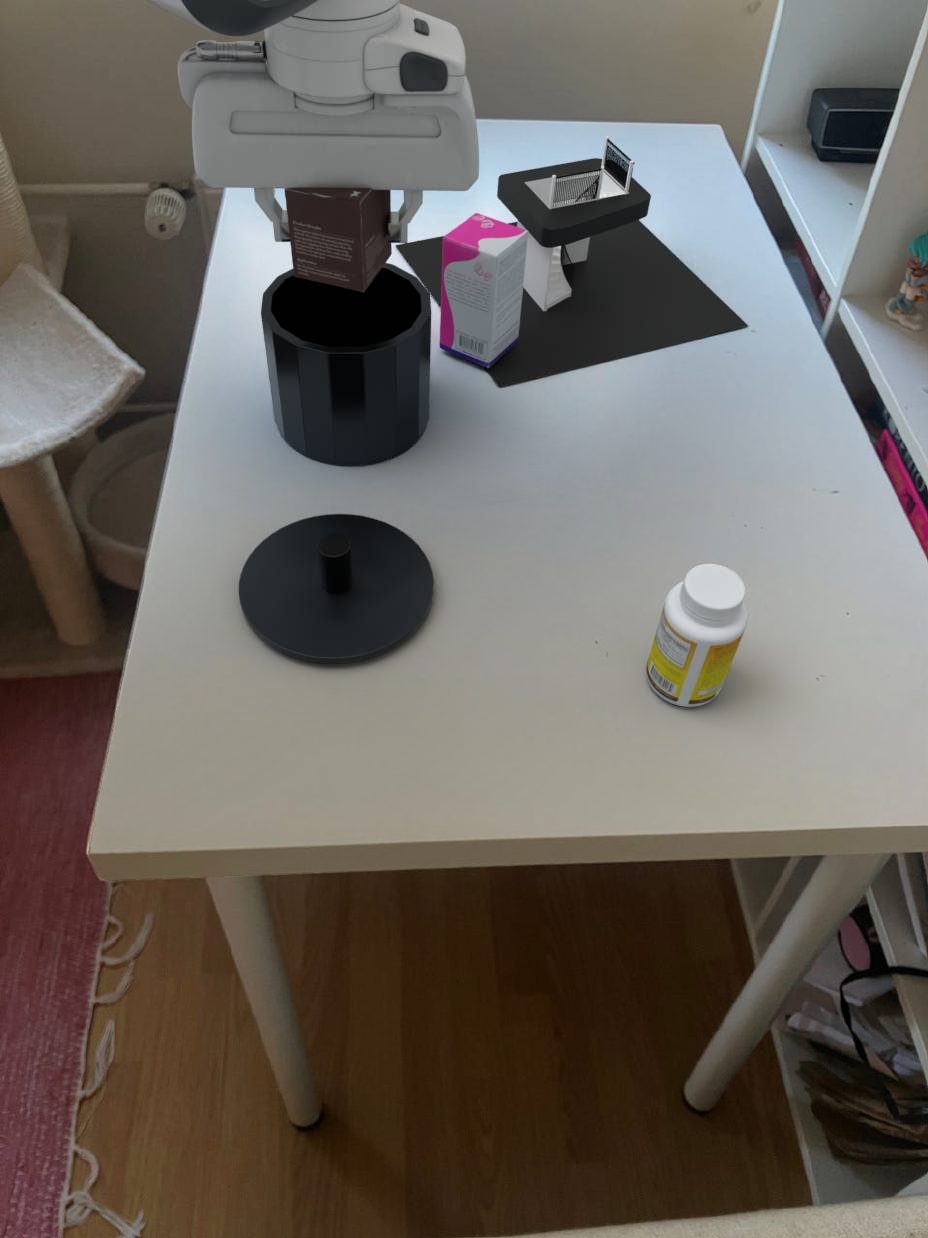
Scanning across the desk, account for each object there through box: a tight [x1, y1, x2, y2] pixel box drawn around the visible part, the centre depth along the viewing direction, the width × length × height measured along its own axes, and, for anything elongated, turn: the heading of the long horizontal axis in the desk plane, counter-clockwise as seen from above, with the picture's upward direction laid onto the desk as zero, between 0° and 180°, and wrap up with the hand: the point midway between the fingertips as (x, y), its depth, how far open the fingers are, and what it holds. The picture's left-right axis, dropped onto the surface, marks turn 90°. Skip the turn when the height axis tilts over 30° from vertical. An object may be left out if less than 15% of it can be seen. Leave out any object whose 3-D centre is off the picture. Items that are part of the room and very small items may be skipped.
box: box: [283, 188, 393, 292], centre depth 76 cm, size 6×6×7 cm
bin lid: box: [238, 513, 435, 664], centre depth 75 cm, size 15×15×5 cm
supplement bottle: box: [645, 563, 749, 708], centre depth 69 cm, size 6×6×10 cm
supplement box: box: [438, 212, 528, 369], centre depth 92 cm, size 6×6×12 cm
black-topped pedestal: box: [394, 135, 749, 388], centre depth 100 cm, size 28×26×13 cm
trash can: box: [260, 262, 432, 467], centre depth 86 cm, size 14×14×12 cm
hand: (342, 238), depth 77 cm, fingers closed on box, 7 cm apart
